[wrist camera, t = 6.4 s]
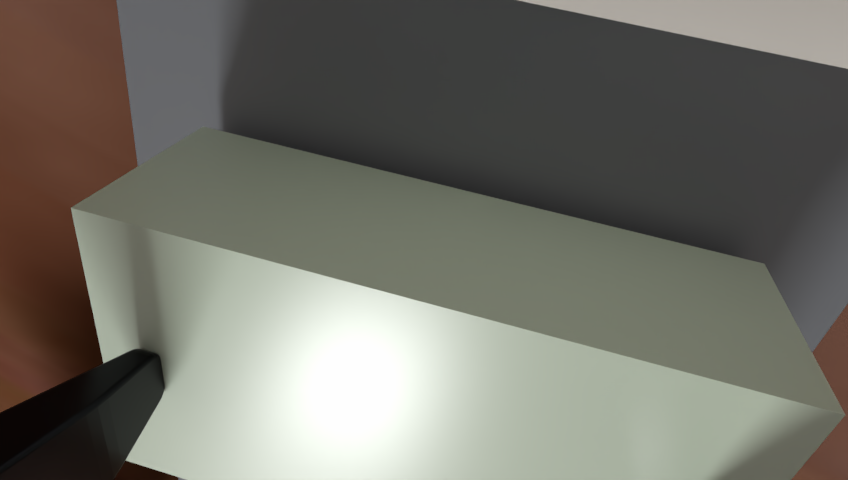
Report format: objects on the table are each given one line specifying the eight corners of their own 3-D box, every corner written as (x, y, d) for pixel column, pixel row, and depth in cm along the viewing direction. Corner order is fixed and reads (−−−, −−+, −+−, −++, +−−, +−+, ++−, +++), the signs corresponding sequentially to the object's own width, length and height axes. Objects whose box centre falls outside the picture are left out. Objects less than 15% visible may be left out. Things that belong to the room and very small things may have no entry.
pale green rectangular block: (764, 263, 10) (845, 415, 7) (644, 466, 13) (664, 629, 10) (203, 126, 11) (70, 207, 8) (215, 344, 15) (124, 459, 12)
